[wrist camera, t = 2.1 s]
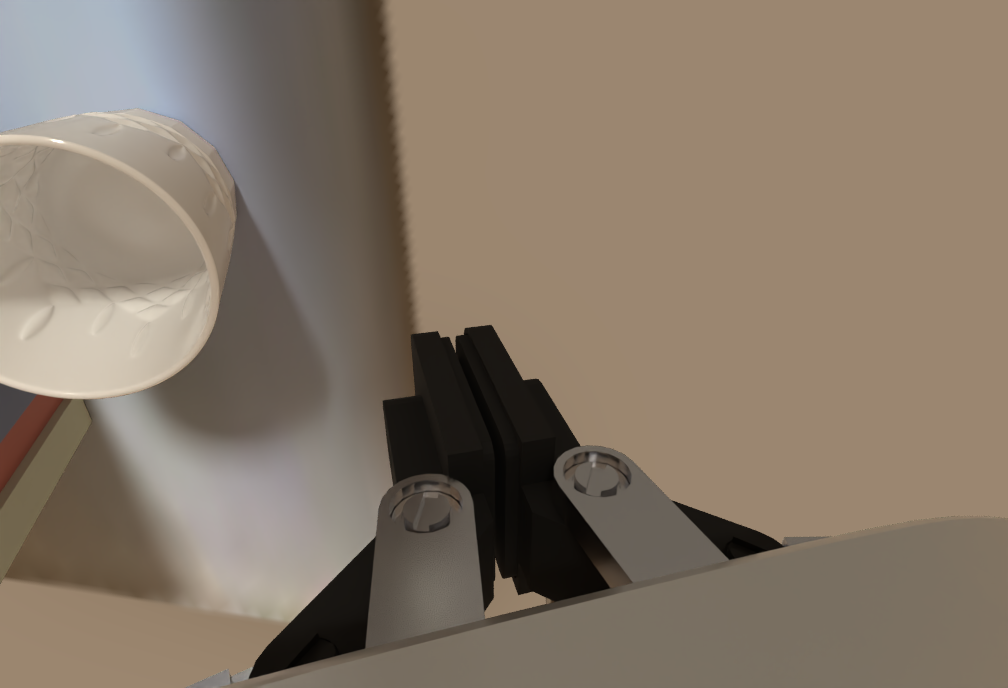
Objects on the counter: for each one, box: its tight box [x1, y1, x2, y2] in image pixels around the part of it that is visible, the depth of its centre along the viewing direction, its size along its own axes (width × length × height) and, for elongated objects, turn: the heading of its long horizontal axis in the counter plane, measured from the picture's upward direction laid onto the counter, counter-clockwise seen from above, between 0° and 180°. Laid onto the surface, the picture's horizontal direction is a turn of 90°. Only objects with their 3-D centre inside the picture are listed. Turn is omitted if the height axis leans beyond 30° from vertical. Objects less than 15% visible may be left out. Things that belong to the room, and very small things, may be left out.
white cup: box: [0, 108, 237, 399], centre depth 20 cm, size 8×8×10 cm
